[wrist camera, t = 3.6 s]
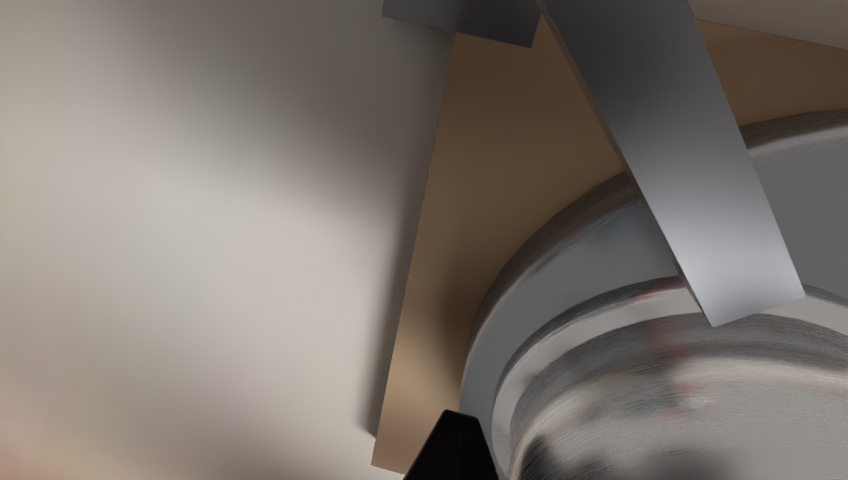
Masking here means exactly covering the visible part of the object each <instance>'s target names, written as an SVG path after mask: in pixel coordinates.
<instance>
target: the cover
mask: <svg viewBox="0 0 848 480" xmlns="http://www.w3.org/2000/svg"><path fill="white" fill-rule="evenodd" d="M801 285H802V287H803V290H804V292H805V294H806V297H804V298H801V299H798V300H795V301H792V302H789V303H786V304H783V305H780V306H777V307H774V308H771V309H768V310H765V311H762V312H759V313H755V314H752V315H749V316H746V317H743V318H740V319H737V320H734V321H731V322H728V323H725V324H722V325H719V326H716V327H713V328H712V326H711V325H710V323H709V322H708V320H707V319H706V317H705V316H704V314H703V313H702V311H701V309H700V308H699V306H698V305H697V303H696V302H695V300H694V299H693V297H692V296H691V294H690V293H689V291H688V289H687V288H686V286H685V285H684V283H683V282H682V280H681V278H680V276H679V275H677V276H670V277H662V278H656V279H652V280H647V281H643V282H638V283H634V284H630V285H626V286H623V287H620V288H617V289H614V290H611V291H608V292H605V293H602V294H599V295H597V296H594V297H592V298H590V299H588V300H586V301H583V302H581V303H579V304H577V305H575V306H572V307H571V308H569V309H567V310H566V311H564V312H562V313H561V314H559V315H557V316H556V317H554V318H552V319H551V320H549V321H548V322H547V323H545V324H544V325H543V326H542V327H540V328H539V329H538V330H536V331H535V332H534V333H533V334H531V335H530V336H529V337H528V339H527V340H526V341H525V342H524V343H523V344H522V345H521V346H520V347H519V348H518V349H517V350H516V351H515V353H514V354H513V355H512V357H511V358H510V360H509V361H508V362H507V364H506V365H505V367H504V369H503V372H502V374H501V376H500V378H499V380H498V382H497V386H496V390H495V393H494V398H493V411H492V440H493V448H494V452H495V455H496V458H497V461H498V463H499V465H500V467H501V469H502V471H503V473H504V475H505V476H506V478H507V479H508V480H848V299H845V298H843V297H841V296H838V295H836V294H834V293H831V292H829V291H827V290H824V289H821V288H818V287H814V286H811V285H807V284H804V283H801Z"/></svg>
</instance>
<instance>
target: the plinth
mask: <svg viewBox="0 0 848 480" xmlns="http://www.w3.org/2000/svg"><path fill="white" fill-rule="evenodd" d="M481 1H482V0H481ZM517 1H518V0H517ZM464 2H465V1H464ZM464 2H463V3H464ZM497 2H498V1H497ZM479 3H480V2H479ZM529 3H530V2H529ZM474 4H475V3H474ZM477 4H478V3H477ZM482 5H483V3H482ZM474 6H475V5H474ZM478 7H479V6H478ZM462 8H463V7H462ZM470 8H471V7H470ZM491 8H492V7H491ZM496 8H497V7H496ZM463 9H464V8H463ZM465 9H466V8H465ZM467 10H468V8H467ZM488 10H489V9H488ZM465 11H466V10H465ZM465 11H464V12H465ZM469 11H470V10H469ZM482 11H483V10H482ZM465 13H467V12H465ZM468 13H469V12H468ZM468 13H467V14H468ZM462 14H463V12H462ZM460 15H461V13H460ZM484 15H485V14H484ZM462 16H463V15H462ZM465 16H466V15H465ZM498 16H499V14H498ZM467 17H468V16H467ZM515 17H516V16H515ZM460 18H461V16H460ZM478 18H479V17H478ZM535 18H536V17H535ZM472 19H473V18H472ZM475 20H476V19H475ZM478 21H479V20H478ZM481 21H482V20H481ZM503 21H505V20H503ZM695 21H696V23H697V26H698V28H699V31H700V33H701V36H702V38H703V41H704V43H705V46H706V48H707V51H708V53H709V56H710V58H711V61H712V63H713V66H714V68H715V71H716V73H717V76H718V78H719V81H720V83H721V86H722V88H723V91H724V93H725V95H726V98H727V100H728V103H729V105H730V108H731V110H732V113H733V115H734V118H735V120H736V123H737V125H738V127H740V126H743V125H746V124H750V123H755V122H760V121H766V120H771V119H776V118H781V117H786V116H791V115H796V114H801V113H806V112H813V111H824V110H836V109H847V108H848V50H844V49H839V48H834V47H829V46H825V45H820V44H815V43H810V42H805V41H800V40H795V39H790V38H786V37H781V36H776V35H771V34H766V33H761V32H756V31H751V30H746V29H742V28H737V27H732V26H727V25H722V24H717V23H712V22H707V21H703V20H698V19H695ZM461 22H463V21H462V18H461ZM468 22H469V21H468ZM475 22H476V21H475ZM484 22H485V21H484ZM487 23H488V22H487ZM489 23H490V22H489ZM511 23H512V22H511ZM475 24H476V23H475ZM496 24H497V23H496ZM457 25H458V24H457ZM481 25H482V24H481ZM458 26H459V25H458ZM458 26H457V27H458ZM479 26H480V25H479ZM499 26H500V25H499ZM502 26H503V25H502ZM463 27H464V26H463ZM458 28H459V27H458ZM473 28H474V27H473ZM473 28H472V30H473ZM475 28H476V27H475ZM483 28H484V27H483ZM506 28H507V27H506ZM526 28H527V27H526ZM465 29H466V28H465ZM463 30H464V29H463ZM463 30H462V31H463ZM479 30H480V29H479ZM481 30H482V29H481ZM490 30H491V29H490ZM500 30H501V29H500ZM457 31H458V30H457ZM468 31H469V30H468ZM470 31H471V29H470ZM473 31H474V30H473ZM477 31H478V30H477ZM497 31H498V30H497ZM487 32H488V31H487ZM462 33H463V32H462ZM462 33H458V32H456V34H455V39H454V44H453V49H452V54H451V60H450V65H449V70H448V75H447V80H446V85H445V90H444V95H443V100H442V105H441V110H440V116H439V121H438V126H437V131H436V136H435V141H434V146H433V151H432V156H431V161H430V166H429V172H428V177H427V182H426V187H425V192H424V197H423V202H422V207H421V212H420V217H419V222H418V228H417V233H416V238H415V243H414V248H413V253H412V258H411V263H410V268H409V273H408V278H407V284H406V289H405V294H404V299H403V304H402V309H401V314H400V319H399V324H398V329H397V334H396V340H395V345H394V350H393V355H392V360H391V365H390V370H389V375H388V380H387V385H386V390H385V396H384V401H383V406H382V411H381V416H380V421H379V426H378V431H377V436H376V441H375V446H374V452H373V457H372V462H371V465H372V466H376V467H380V468H383V469H387V470H390V471H394V472H397V473H401V474H404V475H406V473H407V472H408V470H409V468H410V466H411V465H412V463H413V461H414V460H415V458H416V456H417V454H418V453H419V451H420V449H421V448H422V446H423V444H424V443H425V441H426V439H427V437H428V436H429V434H430V432H431V431H432V429H433V427H434V425H435V424H436V422H437V420H438V419H439V417H440V415H441V414H442V412H443V411H444V410H445V409H448V410H452V411H456V412H459V399H460V391H461V383H462V374H463V366H464V358H465V350H466V346H467V342H468V338H469V334H470V329H471V325H472V323H473V321H474V318H475V316H476V314H477V311H478V309H479V307H480V304H481V302H482V300H483V298H484V296H485V294H486V293H487V291H488V290H489V288H490V287H491V285H492V283H493V282H494V280H495V279H496V277H497V275H498V274H499V272H500V271H501V269H502V268H503V267H504V266H505V265H506V264H507V262H508V261H509V260H510V259H511V258H512V257H513V255H514V254H515V253H516V252H517V251H518V250H519V248H520V247H521V246H522V245H523V244H524V243H525V242H526V241H527V240H528V239H529V238H530V237H531V236H532V235H533V234H535V233H536V232H537V231H538V230H539V229H540V228H541V227H542V226H543V225H544V224H546V223H547V222H548V221H549V220H550V219H551V218H552V217H553V216H554V215H556V214H557V213H559V212H560V211H561V210H563V209H564V208H566V207H567V206H568V205H570V204H571V203H573V202H574V201H576V200H577V199H578V198H580V197H581V196H583V195H584V194H585V193H587V192H588V191H590V190H591V189H593V188H594V187H596V186H598V185H600V184H602V183H603V182H605V181H607V180H609V179H611V178H612V177H614V176H616V175H618V174H620V173H622V172H623V171H624V169H623V167H622V165H621V163H620V161H619V159H618V157H617V156H616V154H615V152H614V150H613V148H612V146H611V144H610V142H609V140H608V138H607V136H606V134H605V133H604V131H603V129H602V127H601V125H600V123H599V121H598V119H597V117H596V115H595V113H594V112H593V110H592V108H591V106H590V104H589V102H588V100H587V98H586V96H585V94H584V92H583V91H582V89H581V87H580V85H579V83H578V81H577V79H576V77H575V75H574V73H573V71H572V70H571V68H570V66H569V64H568V62H567V60H566V58H565V56H564V54H563V52H562V50H561V48H560V47H559V45H558V43H557V41H556V39H555V37H554V35H553V33H552V31H551V29H550V27H549V26H548V24H547V22H546V20H545V18H544V16H543V14H542V12H541V15H540V19H539V22H538V26H537V29H536V33H535V36H534V40H533V43H532V47H531V48H528V47H527V46H526V47H523V46H518V45H514V44H509V43H504V42H500V41H495V40H490V39H491V38H490V39H486V38H481V37H476V36H472V35H467V32H466V34H462ZM464 33H465V32H464ZM474 33H475V32H474ZM474 33H473V34H474ZM471 34H472V33H471ZM507 39H508V38H507ZM528 46H529V45H528Z"/></svg>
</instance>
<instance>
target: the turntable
mask: <svg viewBox="0 0 848 480" xmlns="http://www.w3.org/2000/svg"><path fill="white" fill-rule="evenodd" d="M738 128H739V130H740V133H741V135H742V138H743V140H744V143H745V145H746V148H747V150H748V153H749V155H750V158H751V160H752V163H753V165H754V168H755V170H756V173H757V175H758V178H759V180H760V183H761V185H762V188H763V190H764V192H765V195H766V197H767V200H768V202H769V205H770V207H771V210H772V212H773V215H774V217H775V220H776V222H777V225H778V227H779V230H780V232H781V235H782V237H783V240H784V242H785V245H786V247H787V250H788V252H789V255H790V257H791V260H792V262H793V265H794V267H795V270H796V272H797V275H798V277H799V280H800V282H801V283H804V284H807V285H811V286H814V287H818V288H821V289H824V290H827V291H829V292H831V293H834V294H836V295H838V296H841V297H843V298H845V299H848V108H847V109H836V110H824V111H813V112H806V113H801V114H796V115H791V116H786V117H781V118H776V119H771V120H766V121H760V122H755V123H750V124H746V125H743V126H740V127H738ZM677 275H679V274H678V272H677V270H676V268H675V266H674V264H673V263H672V261H671V259H670V257H669V255H668V253H667V251H666V249H665V247H664V245H663V243H662V242H661V240H660V238H659V236H658V234H657V232H656V230H655V228H654V226H653V224H652V222H651V220H650V219H649V217H648V215H647V213H646V211H645V209H644V207H643V205H642V203H641V201H640V199H639V198H638V196H637V194H636V192H635V190H634V188H633V186H632V184H631V182H630V180H629V178H628V177H627V175H626V173H625V171H623V172H622V173H620V174H618V175H616V176H614V177H612V178H611V179H609V180H607V181H605V182H603V183H602V184H600V185H598V186H596V187H594V188H593V189H591V190H590V191H588V192H587V193H585V194H584V195H583V196H581V197H580V198H578V199H577V200H576V201H574V202H573V203H571V204H570V205H568V206H567V207H566V208H564V209H563V210H561V211H560V212H559V213H557V214H556V215H554V216H553V217H552V218H551V219H550V220H549V221H548V222H547V223H546V224H544V225H543V226H542V227H541V228H540V229H539V230H538V231H537V232H536V233H535V234H533V235H532V236H531V237H530V238H529V239H528V240H527V241H526V242H525V243H524V244H523V245H522V246H521V247H520V248H519V250H518V251H517V252H516V253H515V254H514V255H513V257H512V258H511V259H510V260H509V261H508V262H507V264H506V265H505V266H504V267H503V268H502V269H501V271H500V272H499V274H498V275H497V277H496V279H495V280H494V282H493V283H492V285H491V287H490V288H489V290H488V291H487V293H486V294H485V296H484V298H483V300H482V302H481V304H480V307H479V309H478V311H477V314H476V316H475V318H474V321H473V323H472V325H471V329H470V334H469V338H468V342H467V346H466V350H465V358H464V366H463V374H462V383H461V391H460V399H459V412H460V413H464V414H467V415H471V416H475V417H477V418H478V419H479V421H480V424H481V427H482V430H483V432H484V435H485V438H486V441H487V444H488V447H489V450H490V453H491V456H492V458H493V461H494V464H495V467H496V470H497V473H498V476H499V479H500V480H508V479H507V478H506V476H505V475H504V473H503V471H502V469H501V467H500V465H499V463H498V461H497V458H496V455H495V452H494V448H493V440H492V411H493V398H494V393H495V390H496V386H497V382H498V380H499V378H500V376H501V374H502V372H503V369H504V367H505V365H506V364H507V362H508V361H509V360H510V358H511V357H512V355H513V354H514V353H515V351H516V350H517V349H518V348H519V347H520V346H521V345H522V344H523V343H524V342H525V341H526V340H527V339H528V337H529V336H530V335H531V334H533V333H534V332H535V331H536V330H538V329H539V328H540V327H542V326H543V325H544V324H545V323H547V322H548V321H549V320H551V319H552V318H554V317H556V316H557V315H559V314H561V313H562V312H564V311H566V310H567V309H569V308H571V307H572V306H575V305H577V304H579V303H581V302H583V301H586V300H588V299H590V298H592V297H594V296H597V295H599V294H602V293H605V292H608V291H611V290H614V289H617V288H620V287H623V286H626V285H630V284H634V283H638V282H643V281H647V280H652V279H656V278H662V277H670V276H677Z"/></svg>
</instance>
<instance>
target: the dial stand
mask: <svg viewBox="0 0 848 480" xmlns="http://www.w3.org/2000/svg"><path fill="white" fill-rule="evenodd" d="M464 1H465V2H464ZM497 1H498V2H497ZM463 2H464V3H463ZM479 2H480V3H479ZM529 2H530V3H529ZM474 3H475V4H474ZM477 3H478V4H477ZM482 3H483V5H482ZM474 5H475V6H474ZM478 6H479V7H478ZM462 7H463V8H464V9H463V8H462ZM470 7H471V8H470ZM491 7H492V8H491ZM496 7H497V8H496ZM465 8H466V9H465ZM467 8H468V10H467ZM488 9H489V10H488ZM465 10H466V11H465ZM469 10H470V11H469ZM482 10H483V11H482ZM464 11H465V12H467V13H468V12H469V13H468V14H467V13H465V12H464ZM462 12H463V14H462ZM541 12H542V14H543V16H544V18H545V20H546V22H547V24H548V26H549V27H550V29H551V31H552V33H553V35H554V37H555V39H556V41H557V43H558V45H559V47H560V48H561V50H562V52H563V54H564V56H565V58H566V60H567V62H568V64H569V66H570V68H571V70H572V71H573V73H574V75H575V77H576V79H577V81H578V83H579V85H580V87H581V89H582V91H583V92H584V94H585V96H586V98H587V100H588V102H589V104H590V106H591V108H592V110H593V112H594V113H595V115H596V117H597V119H598V121H599V123H600V125H601V127H602V129H603V131H604V133H605V134H606V136H607V138H608V140H609V142H610V144H611V146H612V148H613V150H614V152H615V154H616V156H617V157H618V159H619V161H620V163H621V165H622V167H623V169H624V171H625V173H626V175H627V177H628V178H629V180H630V182H631V184H632V186H633V188H634V190H635V192H636V194H637V196H638V198H639V199H640V201H641V203H642V205H643V207H644V209H645V211H646V213H647V215H648V217H649V219H650V220H651V222H652V224H653V226H654V228H655V230H656V232H657V234H658V236H659V238H660V240H661V242H662V243H663V245H664V247H665V249H666V251H667V253H668V255H669V257H670V259H671V261H672V263H673V264H674V266H675V268H676V270H677V272H678V274H679V276H680V278H681V280H682V282H683V283H684V285H685V286H686V288H687V289H688V291H689V293H690V294H691V296H692V297H693V299H694V300H695V302H696V303H697V305H698V306H699V308H700V309H701V311H702V313H703V314H704V316H705V317H706V319H707V320H708V322H709V323H710V325H711V326H712V328H713V327H716V326H719V325H722V324H725V323H728V322H731V321H734V320H737V319H740V318H743V317H746V316H749V315H752V314H755V313H759V312H762V311H765V310H768V309H771V308H774V307H777V306H780V305H783V304H786V303H789V302H792V301H795V300H798V299H801V298H804V297H806V294H805V292H804V290H803V287H802V285H801V282H800V280H799V277H798V275H797V272H796V270H795V267H794V265H793V262H792V260H791V257H790V255H789V252H788V250H787V247H786V245H785V242H784V240H783V237H782V235H781V232H780V230H779V227H778V225H777V222H776V220H775V217H774V215H773V212H772V210H771V207H770V205H769V202H768V200H767V197H766V195H765V192H764V190H763V188H762V185H761V183H760V180H759V178H758V175H757V173H756V170H755V168H754V165H753V163H752V160H751V158H750V155H749V153H748V150H747V148H746V145H745V143H744V140H743V138H742V135H741V133H740V130H739V128H738V125H737V123H736V120H735V118H734V115H733V113H732V110H731V108H730V105H729V103H728V100H727V98H726V95H725V93H724V91H723V88H722V86H721V83H720V81H719V78H718V76H717V73H716V71H715V68H714V66H713V63H712V61H711V58H710V56H709V53H708V51H707V48H706V46H705V43H704V41H703V38H702V36H701V33H700V31H699V28H698V26H697V23H696V21H695V18H694V16H693V13H692V11H691V8H690V6H689V3H688V1H687V0H518V1H517V0H482V1H481V0H384V6H383V15H382V16H383V17H388V18H392V19H397V20H402V21H406V22H411V23H416V24H420V25H425V26H430V27H434V28H439V29H444V30H448V31H453V32H458V33H462V32H463V33H462V34H466V32H467V35H472V36H476V37H481V38H486V39H490V38H491V39H490V40H495V41H500V42H504V43H509V44H514V45H518V46H523V47H526V46H527V47H528V48H531V47H532V43H533V40H534V36H535V33H536V29H537V26H538V22H539V19H540V15H541ZM460 13H461V15H460ZM484 14H485V15H484ZM498 14H499V16H498ZM462 15H463V16H462ZM465 15H466V16H465ZM460 16H461V18H462V21H463V22H461V18H460ZM467 16H468V17H467ZM515 16H516V17H515ZM478 17H479V18H478ZM535 17H536V18H535ZM472 18H473V19H472ZM475 19H476V20H475ZM478 20H479V21H478ZM481 20H482V21H481ZM503 20H505V21H503ZM468 21H469V22H468ZM475 21H476V22H475ZM484 21H485V22H484ZM487 22H488V23H487ZM489 22H490V23H489ZM511 22H512V23H511ZM475 23H476V24H475ZM496 23H497V24H496ZM457 24H458V25H459V26H458V25H457ZM481 24H482V25H481ZM479 25H480V26H479ZM499 25H500V26H499ZM502 25H503V26H502ZM457 26H458V27H459V28H458V27H457ZM463 26H464V27H463ZM473 27H474V28H473ZM475 27H476V28H475ZM483 27H484V28H483ZM506 27H507V28H506ZM526 27H527V28H526ZM465 28H466V29H465ZM472 28H473V30H474V31H473V30H472ZM463 29H464V30H463ZM470 29H471V31H470ZM479 29H480V30H479ZM481 29H482V30H481ZM490 29H491V30H490ZM500 29H501V30H500ZM457 30H458V31H457ZM462 30H463V31H462ZM468 30H469V31H468ZM477 30H478V31H477ZM497 30H498V31H497ZM487 31H488V32H487ZM464 32H465V33H464ZM474 32H475V33H474ZM471 33H472V34H471ZM473 33H474V34H473ZM507 38H508V39H507ZM528 45H529V46H528Z"/></svg>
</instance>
